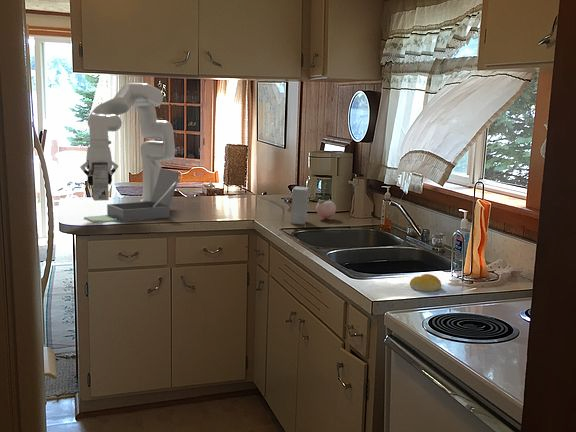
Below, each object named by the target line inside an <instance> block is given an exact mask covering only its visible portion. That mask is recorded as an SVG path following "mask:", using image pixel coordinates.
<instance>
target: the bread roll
mask: <svg viewBox="0 0 576 432" xmlns="http://www.w3.org/2000/svg"><path fill="white" fill-rule="evenodd" d="M442 285H443V284H442V281H441V280H440V279H439V278H438V277H437V276H435V275H434V274H429V273H424V274H421V275H418V276H414V277H413V278H411V280H410V281H409V286H410V287H411V289H413V290H415V291H419V292H427V293H430V292H431V293H432V292H436V291H439V290H441V289H442V287H443V286H442Z"/></svg>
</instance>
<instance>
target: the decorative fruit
mask: <svg viewBox="0 0 576 432" xmlns="http://www.w3.org/2000/svg"><path fill="white" fill-rule="evenodd" d="M315 210H316V213H317V214H318V216H319V217H320V218H323V220H327V219H330V218H331V217H332V216H334V215H335V213H336V211H337V205H336V202H335V201H334V200H331V199H328V197H326V199H325V200H324V199H321V200H318V201H317V204H316V207H315Z"/></svg>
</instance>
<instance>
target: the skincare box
mask: <svg viewBox="0 0 576 432" xmlns="http://www.w3.org/2000/svg"><path fill="white" fill-rule="evenodd" d="M309 188H310V187H308V186H300V185H299V186H297V185H295V186H294V187H293V188H292V193H291V194H292V197H291V208H290V209H291V210H290V211H291V212H290V224H291V225H292V224H294V225H305V223H306V222H307V214H308V203H309V202H308V200H309V190H310V189H309Z"/></svg>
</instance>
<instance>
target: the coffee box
mask: <svg viewBox="0 0 576 432" xmlns="http://www.w3.org/2000/svg"><path fill="white" fill-rule="evenodd" d="M92 171H93V173H92V177H93V185H92V186H91V193H92V194H91V195H92V200H93V201H94V202H95V201H109V184H108V163H93V170H92Z"/></svg>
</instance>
